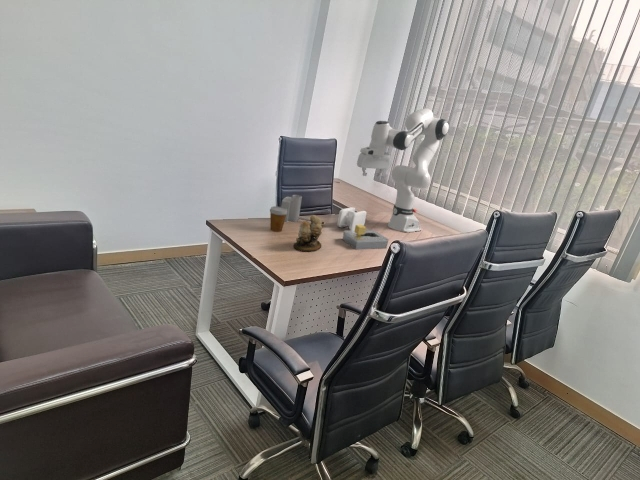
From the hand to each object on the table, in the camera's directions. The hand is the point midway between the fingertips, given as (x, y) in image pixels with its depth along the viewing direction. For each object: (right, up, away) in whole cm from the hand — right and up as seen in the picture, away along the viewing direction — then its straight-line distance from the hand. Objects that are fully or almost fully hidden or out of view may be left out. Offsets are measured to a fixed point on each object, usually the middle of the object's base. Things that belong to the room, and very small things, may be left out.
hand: (371, 176), depth 226 cm
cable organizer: (-11, -29, +17) cm, 35 cm away
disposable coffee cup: (-53, -30, -6) cm, 61 cm away
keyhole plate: (-4, -38, -5) cm, 38 cm away
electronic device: (-39, -25, +13) cm, 49 cm away
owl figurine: (-35, -39, -22) cm, 57 cm away
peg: (-9, -38, -7) cm, 40 cm away
